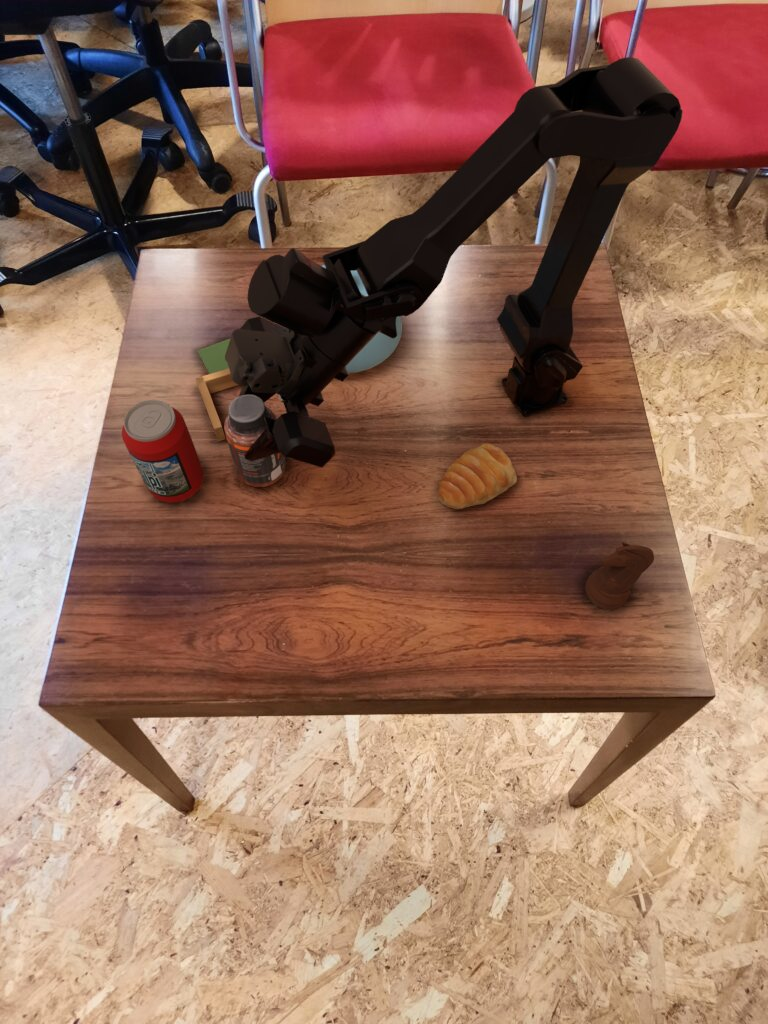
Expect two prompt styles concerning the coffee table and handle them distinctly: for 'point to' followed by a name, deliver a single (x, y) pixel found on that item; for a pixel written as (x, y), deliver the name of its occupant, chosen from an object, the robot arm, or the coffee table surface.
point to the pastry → (476, 477)
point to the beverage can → (162, 450)
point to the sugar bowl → (373, 342)
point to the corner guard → (212, 385)
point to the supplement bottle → (251, 441)
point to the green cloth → (215, 356)
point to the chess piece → (618, 575)
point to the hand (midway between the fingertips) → (241, 437)
